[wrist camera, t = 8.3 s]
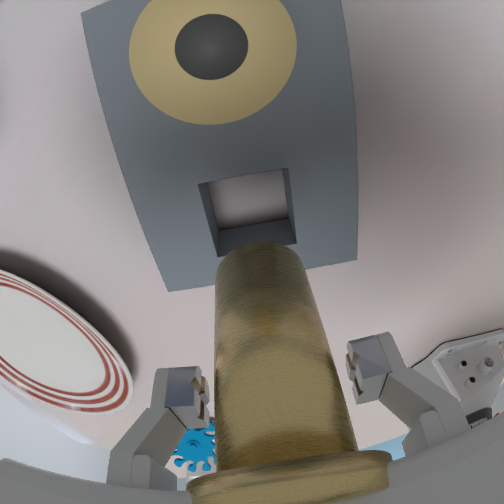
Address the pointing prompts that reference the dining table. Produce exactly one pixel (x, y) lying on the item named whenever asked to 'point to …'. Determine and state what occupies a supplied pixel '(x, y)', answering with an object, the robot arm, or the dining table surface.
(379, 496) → the robot arm
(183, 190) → the jig
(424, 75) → the dining table surface
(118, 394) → the dinner plate
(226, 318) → the bushing
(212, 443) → the gear
